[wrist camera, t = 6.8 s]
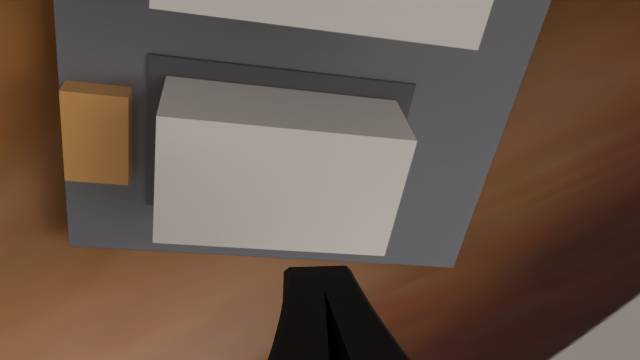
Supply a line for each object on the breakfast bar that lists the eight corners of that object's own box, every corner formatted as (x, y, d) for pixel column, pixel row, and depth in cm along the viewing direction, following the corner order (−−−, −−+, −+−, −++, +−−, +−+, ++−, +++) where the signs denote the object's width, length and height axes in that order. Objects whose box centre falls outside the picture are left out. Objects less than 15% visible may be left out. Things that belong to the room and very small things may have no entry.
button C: (396, 100, 20) (417, 140, 18) (369, 207, 22) (384, 256, 20) (166, 75, 19) (156, 116, 16) (162, 192, 21) (152, 242, 19)
